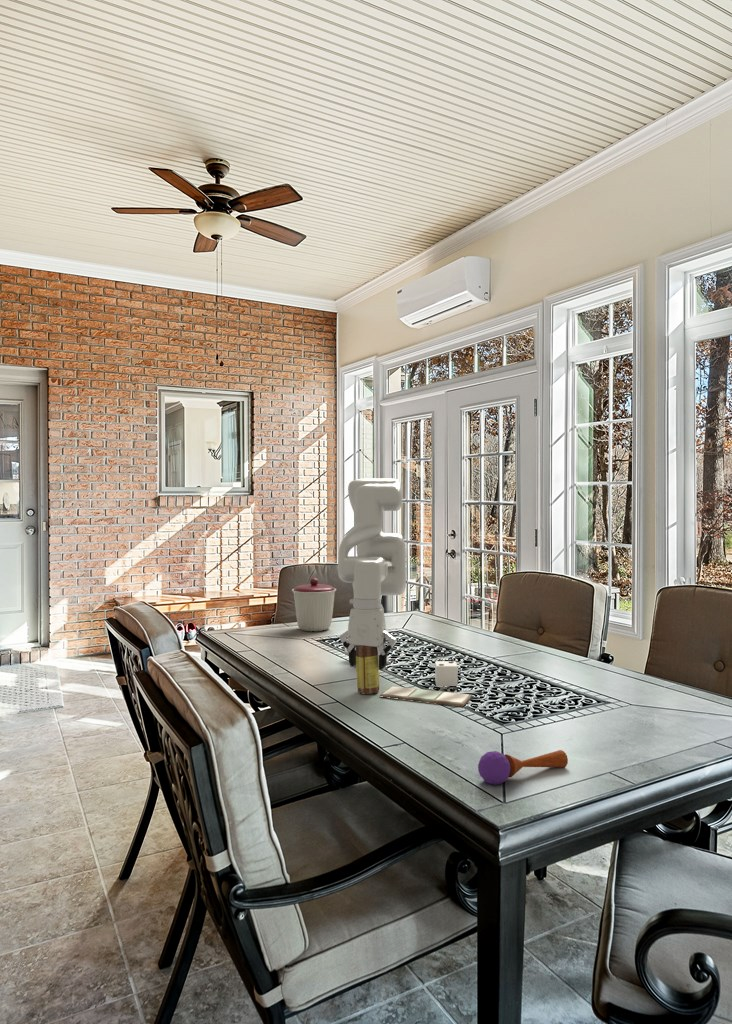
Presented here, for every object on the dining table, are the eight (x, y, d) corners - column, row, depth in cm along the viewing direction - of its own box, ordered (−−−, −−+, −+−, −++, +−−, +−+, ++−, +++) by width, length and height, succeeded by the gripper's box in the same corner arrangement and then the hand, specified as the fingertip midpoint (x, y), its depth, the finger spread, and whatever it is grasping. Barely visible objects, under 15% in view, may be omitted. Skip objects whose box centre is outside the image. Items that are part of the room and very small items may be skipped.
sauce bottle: (382, 690, 194) (382, 619, 193) (375, 696, 188) (375, 623, 187) (360, 688, 196) (360, 618, 195) (352, 694, 190) (352, 622, 189)
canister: (318, 635, 270) (318, 581, 269) (283, 630, 280) (282, 578, 279) (345, 628, 285) (344, 577, 285) (310, 623, 295) (310, 574, 294)
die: (436, 687, 197) (436, 665, 197) (435, 681, 203) (435, 660, 203) (457, 687, 197) (457, 665, 196) (455, 681, 203) (455, 660, 202)
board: (379, 697, 187) (379, 694, 187) (391, 688, 195) (391, 685, 195) (463, 706, 178) (463, 703, 178) (471, 697, 186) (471, 694, 186)
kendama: (575, 752, 136) (493, 763, 127) (569, 780, 137) (488, 792, 128) (554, 737, 141) (475, 746, 132) (549, 764, 142) (469, 775, 133)
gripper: (333, 604, 191) (333, 667, 191) (392, 608, 184) (392, 673, 185) (344, 600, 198) (344, 661, 198) (401, 603, 191) (401, 666, 192)
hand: (367, 666), depth 192 cm, fingers open, 8 cm apart
